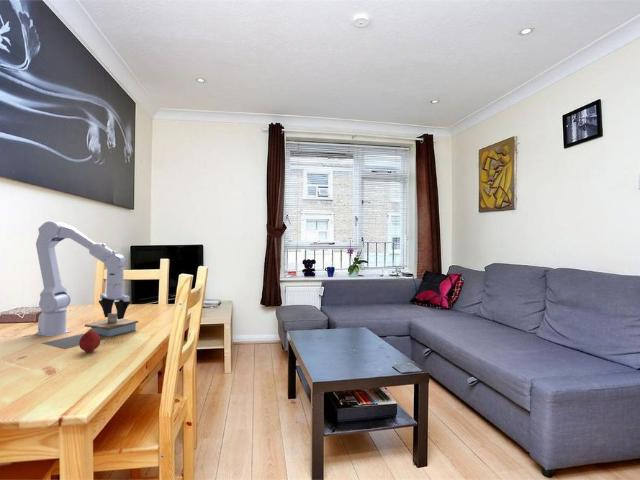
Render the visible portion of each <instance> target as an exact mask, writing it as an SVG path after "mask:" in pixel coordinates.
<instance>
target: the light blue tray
mask: <svg viewBox="0 0 640 480" xmlns="http://www.w3.org/2000/svg"><path fill="white" fill-rule="evenodd" d="M136 327H137V323H135V324H131V325H127V326H123V327H119V328H115V329H111V330H105V329H98V328H92V327H90V329H91V328H92V329H93V331H94V332H96V333H97V334H98V335H99V336H101V337H102V336H103V337H107V338H111V337H115V336H119V335H123V334H128V333H131V332H136V329H137V328H136Z"/></svg>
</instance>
